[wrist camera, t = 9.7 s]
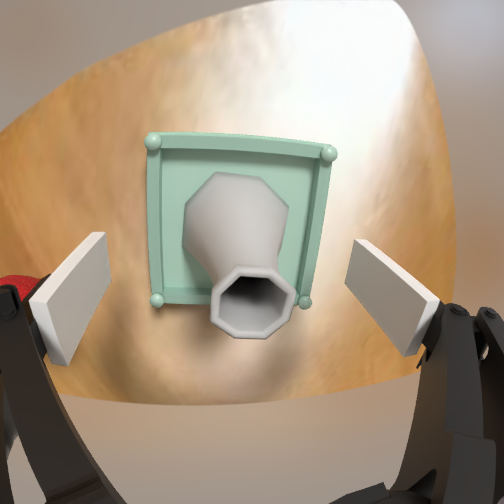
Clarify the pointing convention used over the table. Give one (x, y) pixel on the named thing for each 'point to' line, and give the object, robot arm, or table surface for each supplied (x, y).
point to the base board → (238, 162)
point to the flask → (240, 252)
